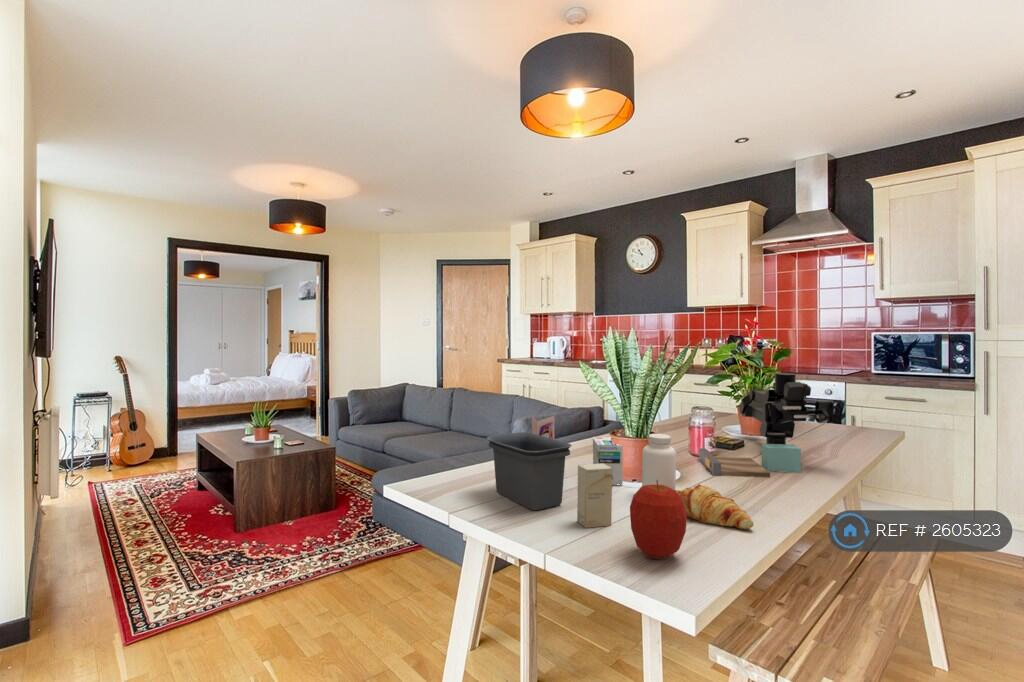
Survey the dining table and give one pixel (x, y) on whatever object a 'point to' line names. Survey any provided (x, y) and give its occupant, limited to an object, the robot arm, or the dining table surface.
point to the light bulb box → (609, 457)
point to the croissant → (713, 507)
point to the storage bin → (529, 468)
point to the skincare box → (594, 495)
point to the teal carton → (781, 457)
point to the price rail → (710, 461)
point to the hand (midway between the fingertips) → (810, 418)
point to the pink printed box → (543, 427)
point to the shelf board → (741, 467)
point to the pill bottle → (659, 462)
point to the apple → (658, 520)
